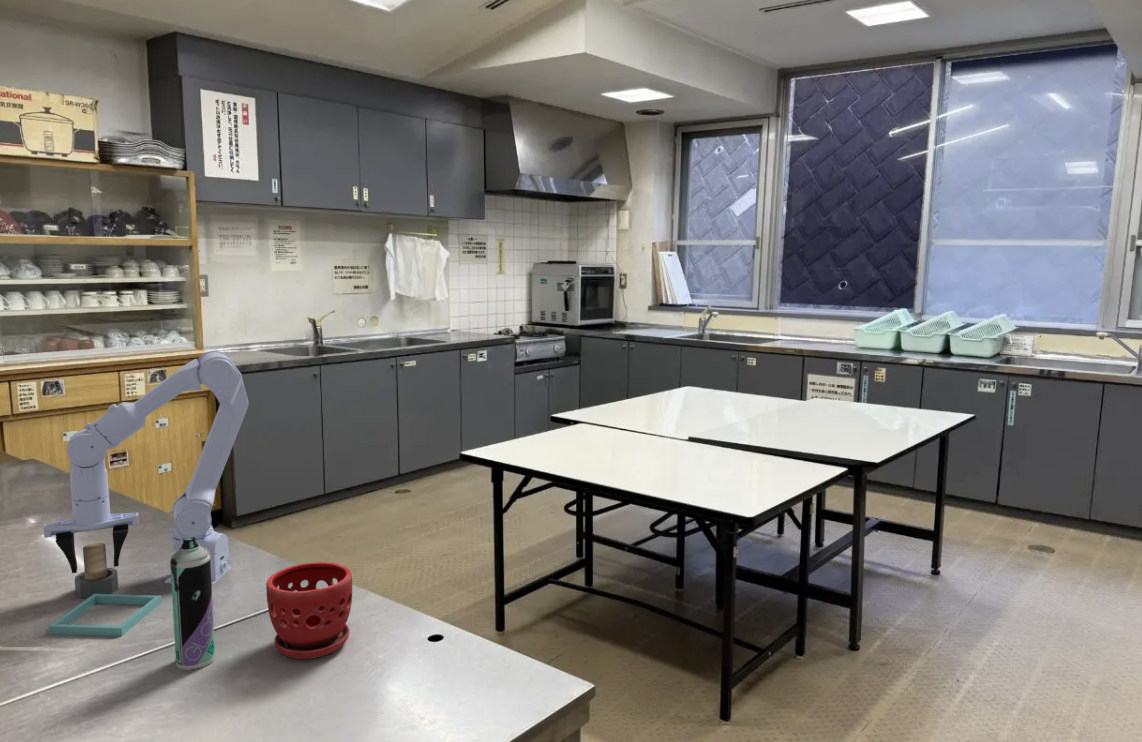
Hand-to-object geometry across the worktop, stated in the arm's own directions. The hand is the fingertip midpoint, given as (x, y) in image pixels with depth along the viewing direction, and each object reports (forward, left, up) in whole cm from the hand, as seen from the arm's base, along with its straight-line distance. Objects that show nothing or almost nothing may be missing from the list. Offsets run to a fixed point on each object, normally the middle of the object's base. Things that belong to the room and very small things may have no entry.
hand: (95, 567), depth 140 cm
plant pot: (-45, +16, -5) cm, 48 cm away
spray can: (-29, +22, -5) cm, 37 cm away
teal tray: (-8, +10, -5) cm, 14 cm away
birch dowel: (0, 0, -4) cm, 4 cm away
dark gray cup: (0, 0, -5) cm, 5 cm away
